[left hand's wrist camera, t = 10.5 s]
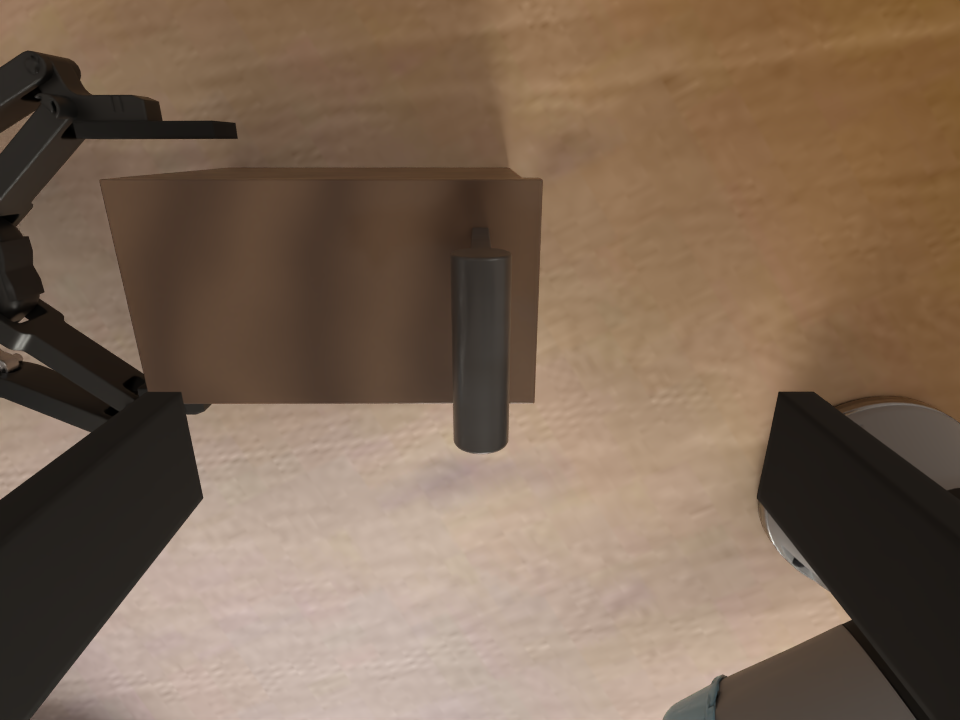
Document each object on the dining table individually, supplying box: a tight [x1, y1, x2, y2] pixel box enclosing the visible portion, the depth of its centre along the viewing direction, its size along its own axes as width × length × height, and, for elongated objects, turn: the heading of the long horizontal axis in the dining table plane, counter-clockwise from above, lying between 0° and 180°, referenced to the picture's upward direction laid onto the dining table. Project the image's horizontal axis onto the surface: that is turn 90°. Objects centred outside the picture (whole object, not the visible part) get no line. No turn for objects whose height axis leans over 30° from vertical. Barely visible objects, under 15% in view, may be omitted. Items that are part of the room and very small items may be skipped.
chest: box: [121, 168, 522, 178], centre depth 31 cm, size 17×10×11 cm, turn 90°
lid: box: [100, 178, 543, 454], centre depth 22 cm, size 18×10×9 cm, turn 90°
